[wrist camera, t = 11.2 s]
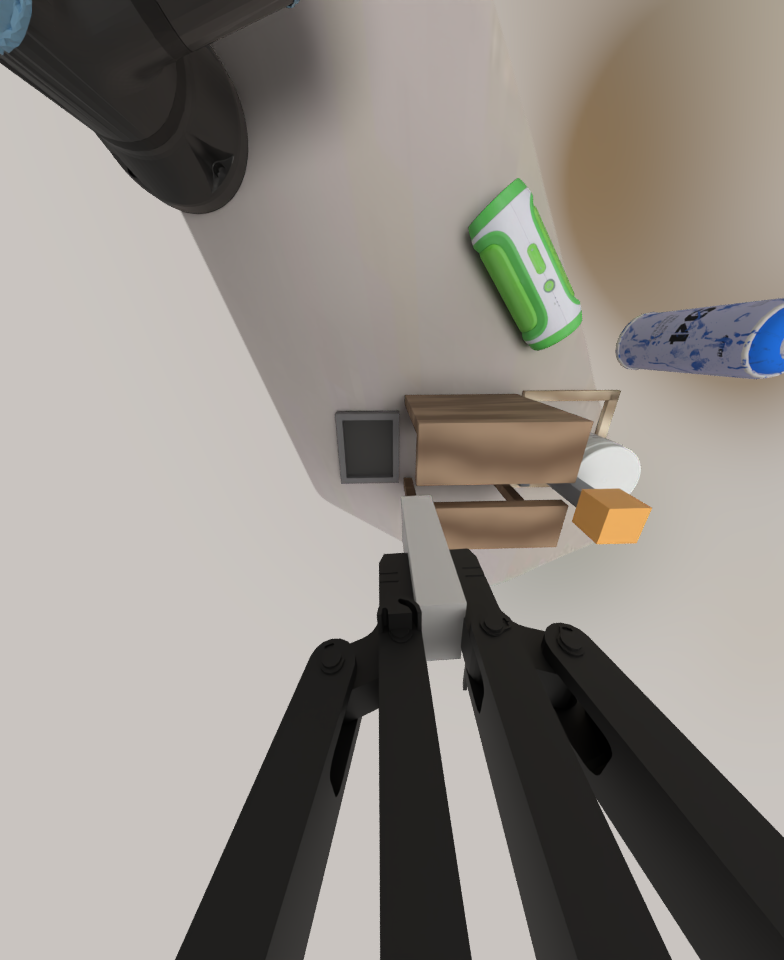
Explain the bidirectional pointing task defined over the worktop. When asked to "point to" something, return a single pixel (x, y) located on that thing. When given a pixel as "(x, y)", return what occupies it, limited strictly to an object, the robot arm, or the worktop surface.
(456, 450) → the walnut tunnel
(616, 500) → the slider
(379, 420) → the tray
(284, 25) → the worktop surface
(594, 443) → the supplement tub
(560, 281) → the speaker
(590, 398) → the frame
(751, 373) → the aerosol can
